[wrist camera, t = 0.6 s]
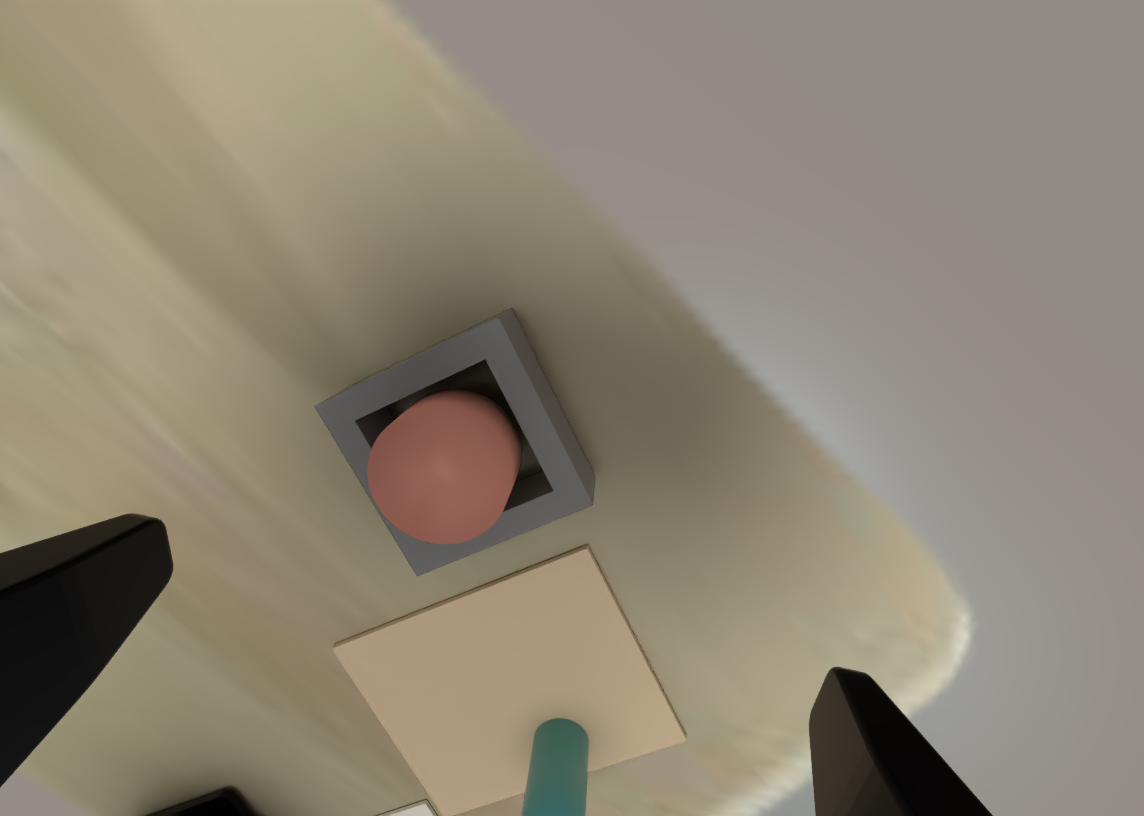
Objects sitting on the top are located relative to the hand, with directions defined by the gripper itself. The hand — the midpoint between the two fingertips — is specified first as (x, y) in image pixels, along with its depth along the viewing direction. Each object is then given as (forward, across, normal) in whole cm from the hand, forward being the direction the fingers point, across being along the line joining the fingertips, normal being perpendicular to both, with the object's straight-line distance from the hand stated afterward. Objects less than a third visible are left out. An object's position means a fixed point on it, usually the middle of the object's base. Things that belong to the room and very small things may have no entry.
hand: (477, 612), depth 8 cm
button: (+12, +4, +5) cm, 13 cm away
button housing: (+14, +4, +5) cm, 15 cm away
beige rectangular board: (+12, +1, +16) cm, 20 cm away
